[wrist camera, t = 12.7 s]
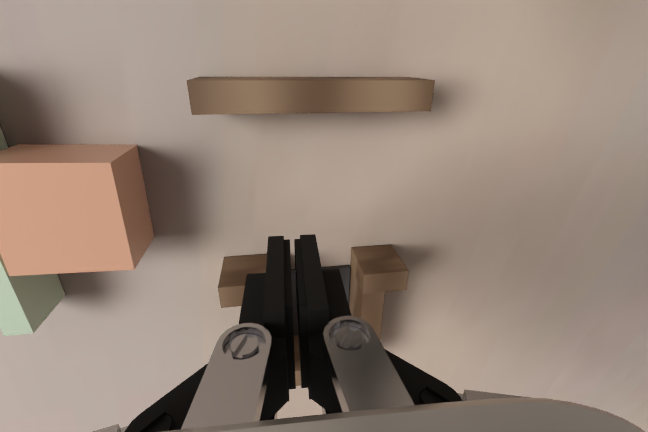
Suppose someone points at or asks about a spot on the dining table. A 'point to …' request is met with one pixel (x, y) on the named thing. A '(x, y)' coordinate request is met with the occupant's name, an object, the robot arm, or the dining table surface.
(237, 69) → the dining table surface
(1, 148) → the light green plank
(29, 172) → the block
